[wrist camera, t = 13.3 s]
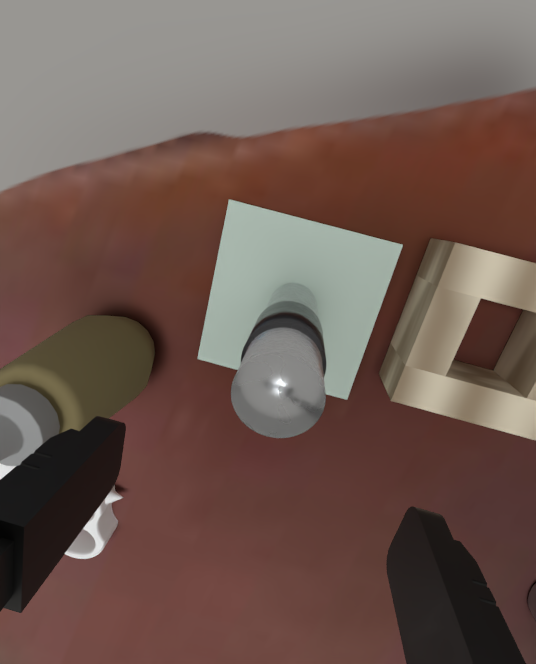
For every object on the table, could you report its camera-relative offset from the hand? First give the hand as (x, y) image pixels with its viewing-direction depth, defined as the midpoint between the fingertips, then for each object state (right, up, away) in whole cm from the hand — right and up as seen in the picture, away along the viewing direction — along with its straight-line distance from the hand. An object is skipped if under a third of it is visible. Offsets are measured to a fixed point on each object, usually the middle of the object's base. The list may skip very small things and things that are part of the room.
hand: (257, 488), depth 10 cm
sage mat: (+2, +7, +21) cm, 22 cm away
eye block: (+17, +5, +20) cm, 27 cm away
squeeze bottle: (-13, +3, +24) cm, 28 cm away
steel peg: (+2, +6, +20) cm, 22 cm away
